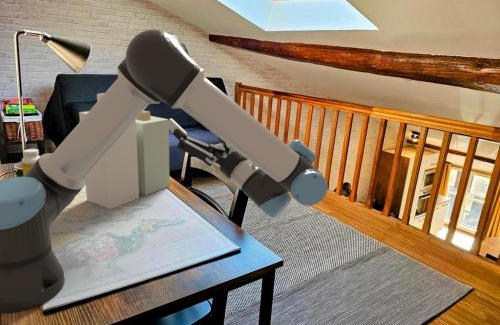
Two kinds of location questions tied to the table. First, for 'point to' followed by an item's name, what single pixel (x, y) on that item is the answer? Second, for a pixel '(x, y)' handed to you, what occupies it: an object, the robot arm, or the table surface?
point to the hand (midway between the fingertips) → (186, 119)
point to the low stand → (152, 154)
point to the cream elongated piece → (143, 116)
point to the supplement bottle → (29, 159)
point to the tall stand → (115, 172)
